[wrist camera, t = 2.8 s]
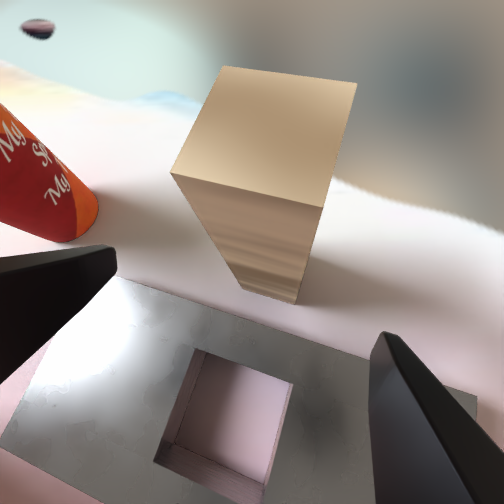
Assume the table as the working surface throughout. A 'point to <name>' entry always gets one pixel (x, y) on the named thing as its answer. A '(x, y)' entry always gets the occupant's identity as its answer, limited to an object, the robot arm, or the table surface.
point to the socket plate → (175, 403)
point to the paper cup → (40, 187)
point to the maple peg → (264, 171)
